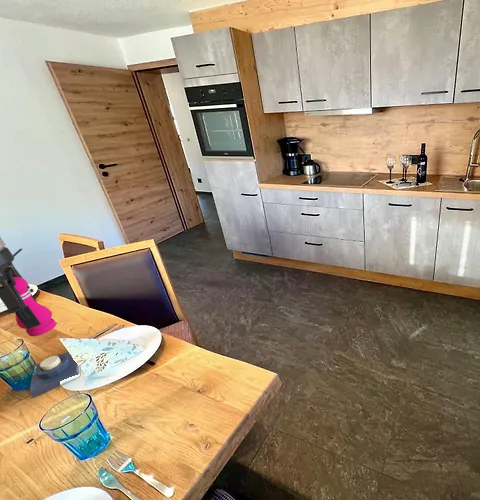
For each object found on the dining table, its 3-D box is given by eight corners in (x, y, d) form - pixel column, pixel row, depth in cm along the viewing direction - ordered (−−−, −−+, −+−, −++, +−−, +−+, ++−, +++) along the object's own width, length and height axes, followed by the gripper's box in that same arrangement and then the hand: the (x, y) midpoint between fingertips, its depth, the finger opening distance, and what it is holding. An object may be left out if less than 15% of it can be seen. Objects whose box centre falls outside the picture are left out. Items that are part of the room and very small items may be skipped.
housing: (37, 370, 87) (30, 361, 85) (80, 352, 92) (74, 343, 91) (33, 397, 79) (25, 388, 77) (80, 376, 84) (73, 367, 82)
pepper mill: (20, 336, 86) (-24, 280, 76) (47, 319, 92) (9, 266, 82) (38, 339, 84) (-5, 283, 75) (64, 322, 90) (28, 268, 81)
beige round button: (43, 364, 84) (40, 360, 83) (61, 357, 86) (58, 353, 86) (42, 373, 81) (39, 369, 81) (61, 365, 84) (57, 361, 83)
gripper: (-26, 244, 80) (22, 308, 91) (-48, 272, 66) (12, 344, 77) (12, 235, 84) (54, 298, 95) (-1, 260, 70) (50, 330, 81)
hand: (35, 319), depth 86 cm, fingers closed on pepper mill, 7 cm apart
